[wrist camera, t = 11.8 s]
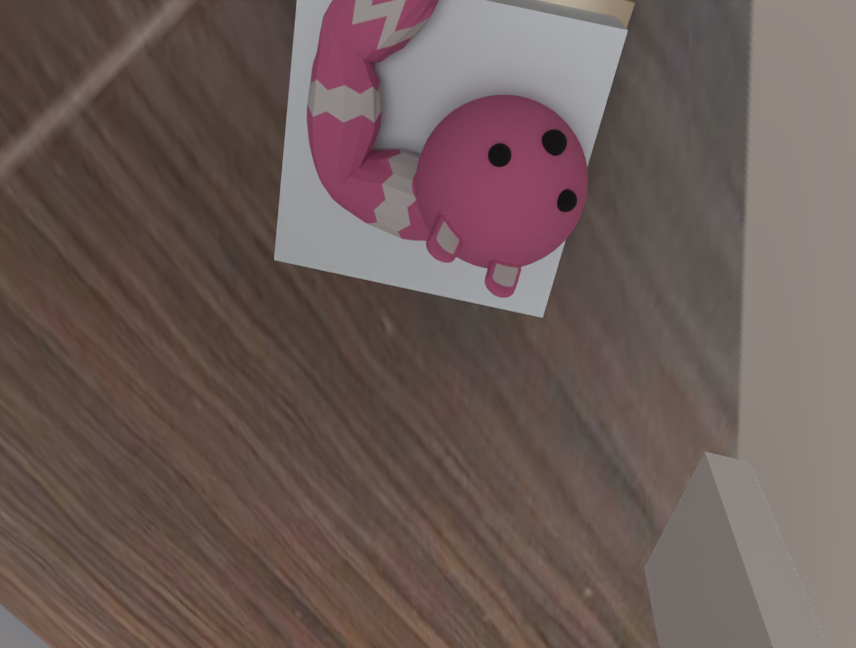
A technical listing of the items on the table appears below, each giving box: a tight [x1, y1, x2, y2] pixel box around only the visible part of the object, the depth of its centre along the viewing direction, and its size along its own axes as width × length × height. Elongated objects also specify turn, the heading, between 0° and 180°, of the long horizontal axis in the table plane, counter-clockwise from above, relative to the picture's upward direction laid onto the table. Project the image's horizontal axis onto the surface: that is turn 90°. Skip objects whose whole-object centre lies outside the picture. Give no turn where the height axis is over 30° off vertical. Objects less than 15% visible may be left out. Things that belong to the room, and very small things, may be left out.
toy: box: [307, 0, 588, 298], centre depth 27 cm, size 11×9×10 cm
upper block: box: [274, 0, 628, 318], centre depth 32 cm, size 12×12×4 cm
